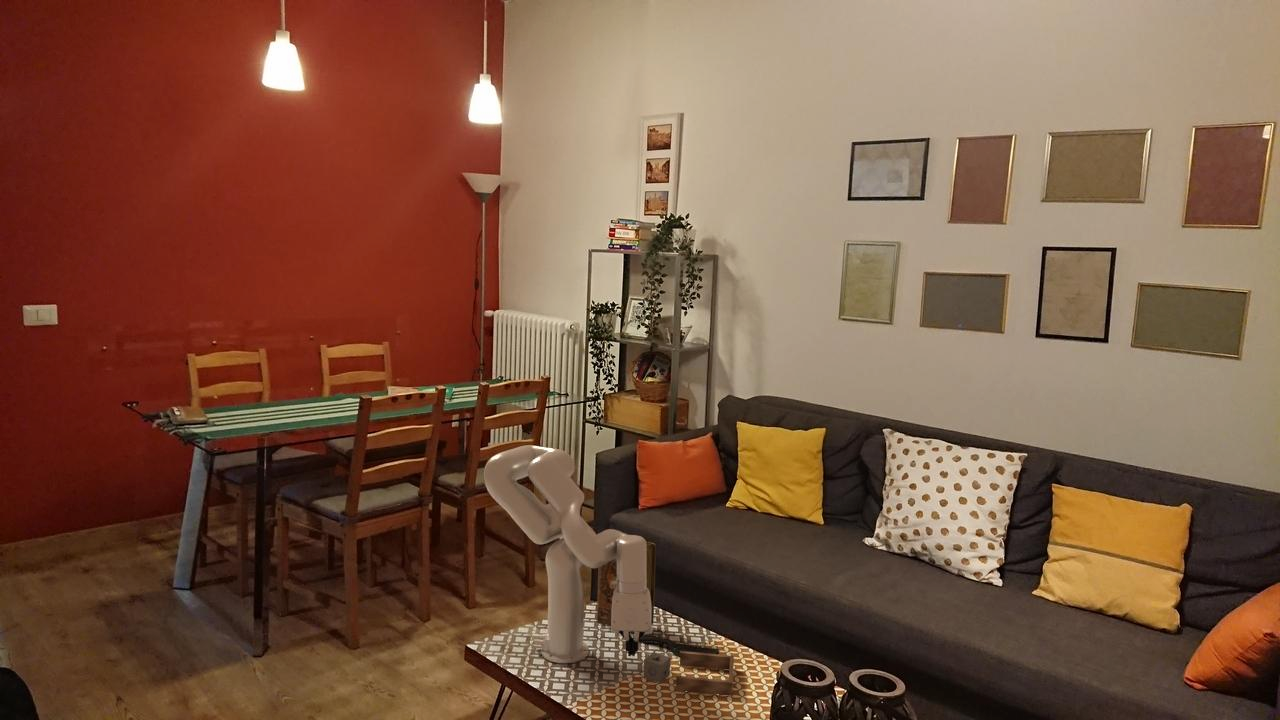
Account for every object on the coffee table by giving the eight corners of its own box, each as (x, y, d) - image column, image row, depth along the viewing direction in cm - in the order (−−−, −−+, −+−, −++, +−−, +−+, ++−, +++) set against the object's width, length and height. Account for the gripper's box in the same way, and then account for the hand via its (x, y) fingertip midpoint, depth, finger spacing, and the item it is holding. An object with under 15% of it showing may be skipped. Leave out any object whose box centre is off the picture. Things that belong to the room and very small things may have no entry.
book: (594, 622, 242) (596, 539, 239) (602, 615, 247) (605, 534, 244) (645, 634, 235) (648, 549, 232) (653, 626, 240) (656, 543, 237)
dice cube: (643, 678, 211) (644, 659, 211) (652, 670, 216) (653, 652, 215) (660, 684, 209) (661, 665, 208) (669, 675, 213) (670, 657, 212)
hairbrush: (642, 624, 236) (724, 642, 224) (643, 636, 237) (724, 655, 225) (628, 635, 229) (711, 655, 217) (628, 648, 229) (711, 668, 217)
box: (675, 690, 206) (676, 677, 205) (679, 663, 219) (680, 651, 219) (732, 696, 204) (733, 683, 203) (733, 668, 218) (733, 655, 217)
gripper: (600, 589, 208) (600, 659, 210) (659, 591, 206) (659, 662, 208) (605, 578, 215) (605, 645, 217) (662, 580, 214) (662, 648, 216)
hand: (632, 653), depth 213 cm, fingers closed
